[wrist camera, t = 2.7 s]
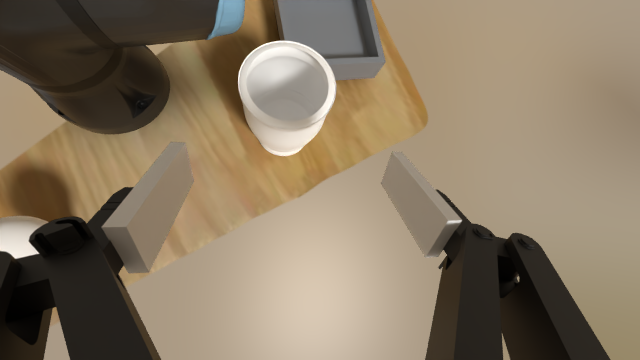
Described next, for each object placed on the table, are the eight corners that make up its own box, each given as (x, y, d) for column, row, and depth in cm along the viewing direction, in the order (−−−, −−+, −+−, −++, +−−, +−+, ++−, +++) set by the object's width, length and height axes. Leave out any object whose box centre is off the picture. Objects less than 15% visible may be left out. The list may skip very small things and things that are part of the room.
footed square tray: (287, 88, 41) (289, 66, 35) (272, 7, 43) (272, -26, 37) (370, 82, 44) (385, 62, 38) (354, 8, 46) (365, -23, 40)
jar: (300, 96, 41) (315, 30, 26) (323, 150, 40) (351, 111, 26) (241, 114, 38) (221, 51, 24) (264, 171, 38) (258, 142, 23)
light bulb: (99, 210, 32) (14, 206, 22) (108, 257, 32) (25, 277, 21) (41, 224, 31) (-80, 227, 20) (49, 274, 30) (-72, 304, 20)
